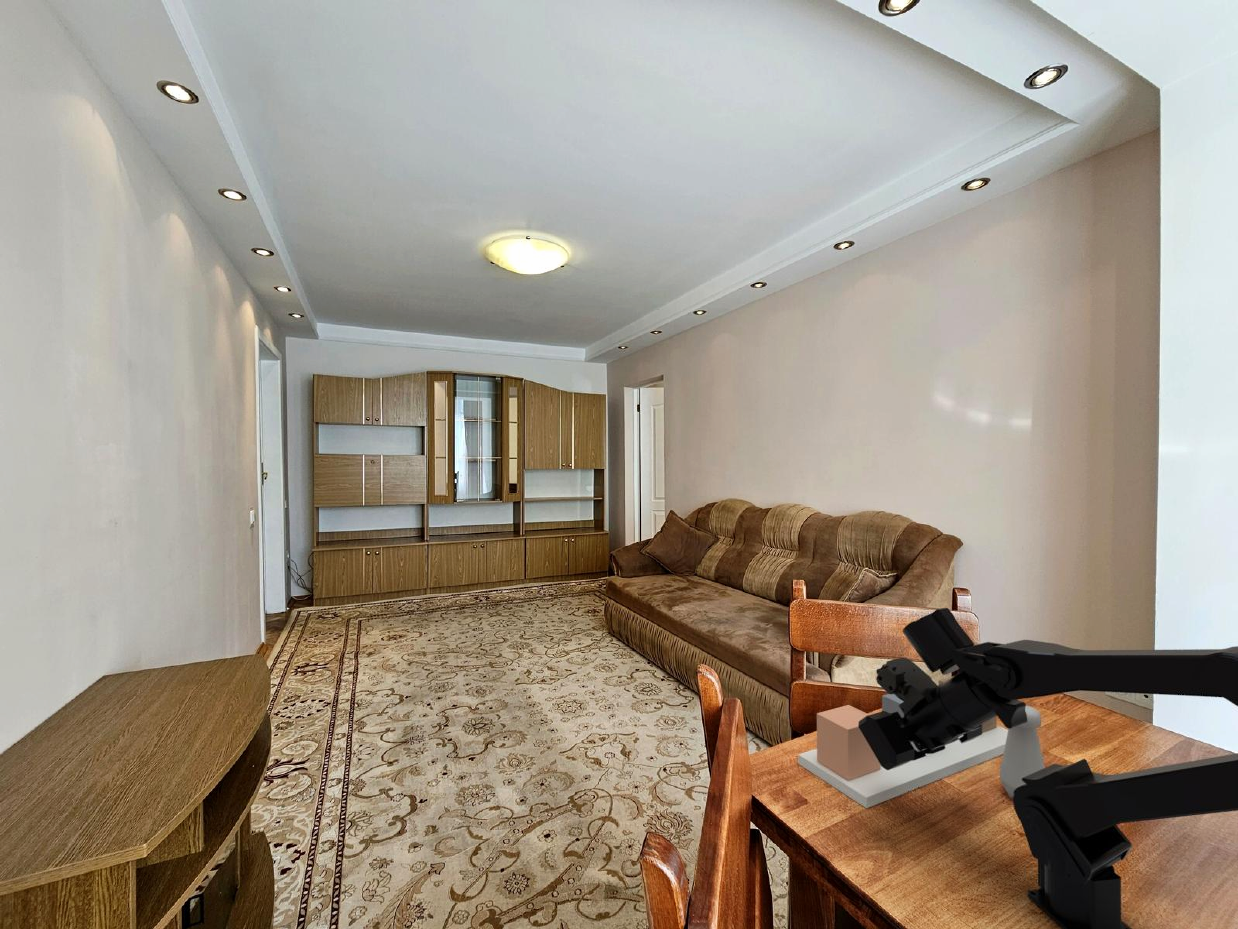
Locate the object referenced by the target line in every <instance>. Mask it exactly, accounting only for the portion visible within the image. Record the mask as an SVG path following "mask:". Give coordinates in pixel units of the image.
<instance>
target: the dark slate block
mask: <svg viewBox="0 0 1238 929" xmlns="http://www.w3.org/2000/svg"><path fill="white" fill-rule="evenodd" d="M903 702H904V701H902V700H900V699H899V698H898V697H897V696H896V695H895V694H888V693H885V694H883V695H881V711H886V712H888V713H890V714H891V713H894V712H897V711H898V713H899V714H900V716H901V717H902V718H903V717H904V713H903V712H902V710H901V709H900V707H899V706H898V705H900V704H901V703H903Z"/></svg>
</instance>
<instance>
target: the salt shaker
mask: <svg viewBox="0 0 1238 929" xmlns="http://www.w3.org/2000/svg"><path fill="white" fill-rule="evenodd" d="M1025 711H1026V714H1027V723H1025V724H1022V725H1019V726H1016V727H1014V728H1011V729H1008V728H1007V730H1008V734H1007V739H1006V744H1005V749H1004V754H1002V759H1001V764H1000V769H999V774H998V775H999V780H1000V781H1001V784H1002V786H1003V787H1004V789H1005V790H1006V791H1005V792H1006V793H1007V794H1008V798H1011V799H1012V800H1013V796H1014V794H1013V792H1014V790H1015V789H1016V788H1018V787H1020V786H1022V785H1024V784H1026V783H1024V782H1023V781H1022V778H1023V777H1026V776H1028V775H1030V774H1032V773H1035V772H1037V771H1039V770H1041V769H1044V768H1046V765H1045V762H1044V756H1043V753H1042V749H1041V743H1040V740H1039V738H1040V737H1039V735H1038V734H1039V733H1038V730H1037V729H1040V728H1041V726H1042V715H1041V712H1040V711H1038V710H1037V709H1036V708H1035V707H1032V706H1030V705H1027V704H1026V707H1025Z"/></svg>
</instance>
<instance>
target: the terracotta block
mask: <svg viewBox="0 0 1238 929" xmlns="http://www.w3.org/2000/svg"><path fill="white" fill-rule="evenodd" d="M868 715H870V714H868V713H866V712H864V711H862V710H860V709H858V708H856V707H854V706H851V704H847V705H843V706H840V707H836V708H832V709H829V710H825V711H820V712H817V713H816V749H817V761H818V762H819V763H821V764H822V765H824V766H826V767H827V768H829V769H830V770H832V771H834V772H835V773H837V774H838V775H840V776H842V777H843V778H845V779H846V780H851V779H854V778H857V777H860V776H862V775H865V774H868V773H871V772H874V771H876V770H879V769H881V765H880V763H879V761H878V759H877V758H876V756H875V754H874V753H873V751H872V749H871V747H870V746H869V744H868V742H867V741H866V739H865V737H864V736H863V734H862V732H861V730H860V729H859V727H858V724H859V721H860V720H862V719H863V718H864V717H866V716H868Z"/></svg>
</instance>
